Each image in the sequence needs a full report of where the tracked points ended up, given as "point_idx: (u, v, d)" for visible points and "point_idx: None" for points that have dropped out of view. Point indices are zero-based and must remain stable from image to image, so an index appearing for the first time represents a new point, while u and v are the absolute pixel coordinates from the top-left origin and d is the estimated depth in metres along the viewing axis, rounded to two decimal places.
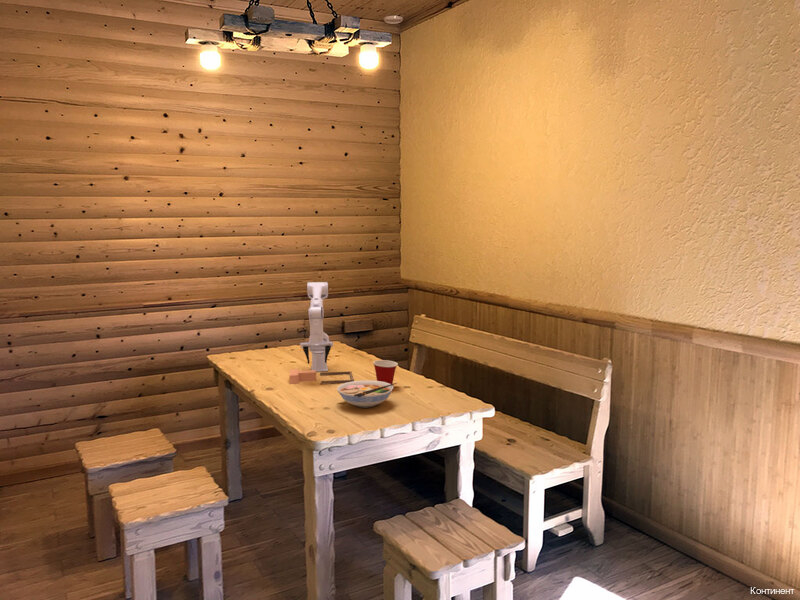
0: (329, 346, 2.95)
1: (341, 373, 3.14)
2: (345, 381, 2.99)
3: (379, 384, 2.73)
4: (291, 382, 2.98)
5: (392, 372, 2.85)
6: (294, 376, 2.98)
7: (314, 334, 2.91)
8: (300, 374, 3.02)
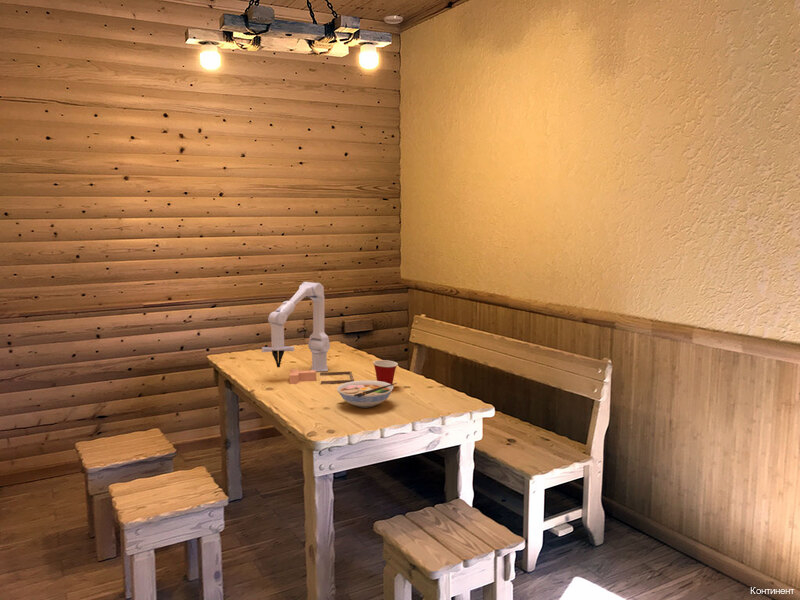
0: None
1: (341, 373, 3.14)
2: (345, 381, 2.99)
3: (379, 384, 2.73)
4: (291, 382, 2.98)
5: (392, 372, 2.85)
6: (294, 376, 2.98)
7: (275, 339, 2.97)
8: (300, 374, 3.02)
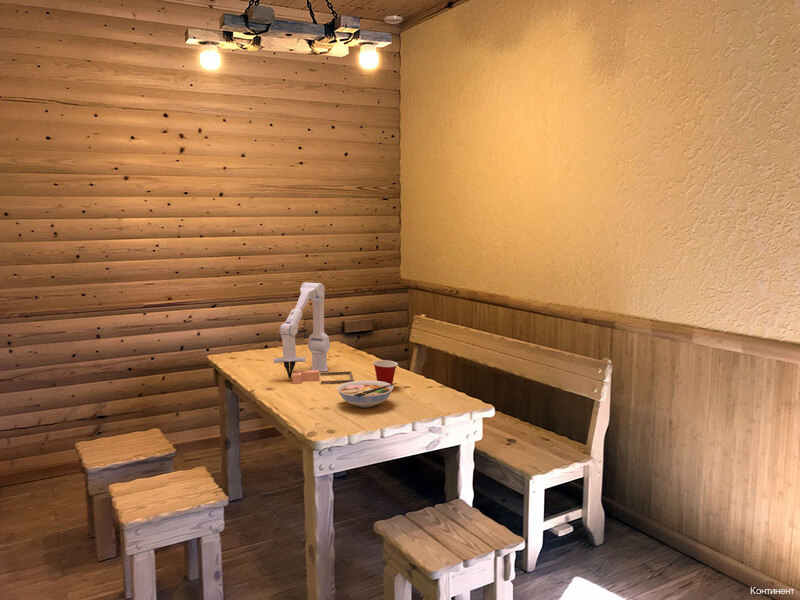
0: (301, 361, 3.02)
1: (341, 373, 3.14)
2: (345, 381, 2.99)
3: (379, 384, 2.73)
4: (294, 382, 2.98)
5: (392, 372, 2.85)
6: (297, 376, 2.98)
7: (286, 350, 2.99)
8: (303, 374, 3.02)
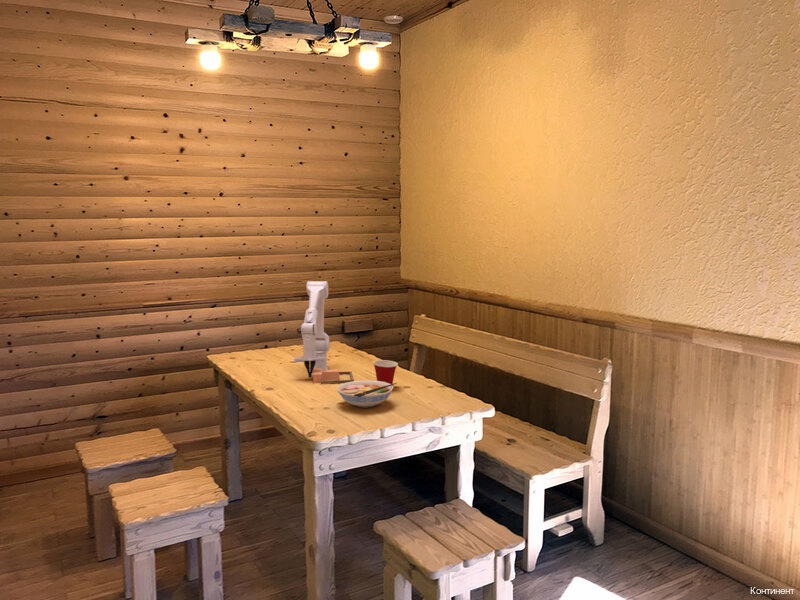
0: (322, 361, 3.04)
1: (341, 373, 3.14)
2: (345, 381, 2.99)
3: (379, 384, 2.73)
4: (315, 381, 2.99)
5: (392, 372, 2.85)
6: (318, 375, 2.99)
7: (307, 349, 3.00)
8: (323, 373, 3.03)
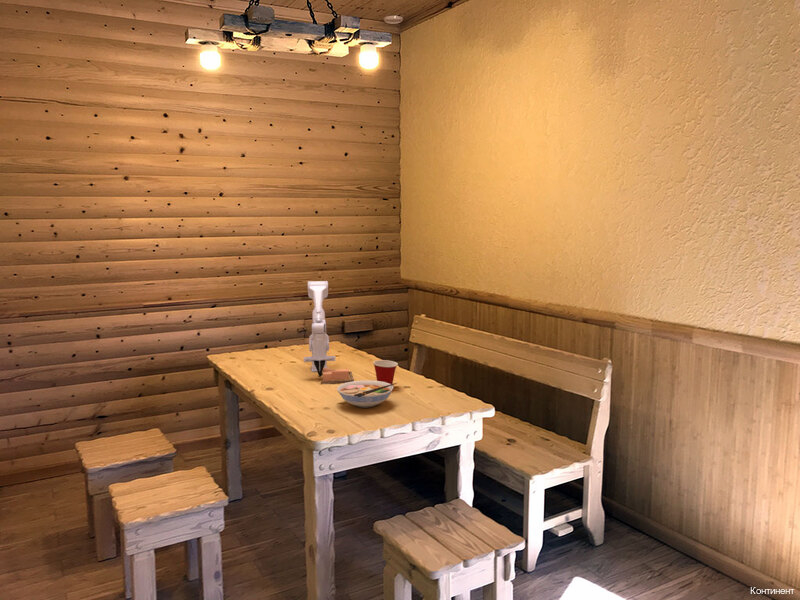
0: (331, 360, 3.04)
1: None
2: (345, 381, 2.99)
3: (379, 384, 2.73)
4: None
5: (392, 372, 2.85)
6: (328, 375, 3.00)
7: (317, 349, 3.01)
8: (333, 373, 3.04)
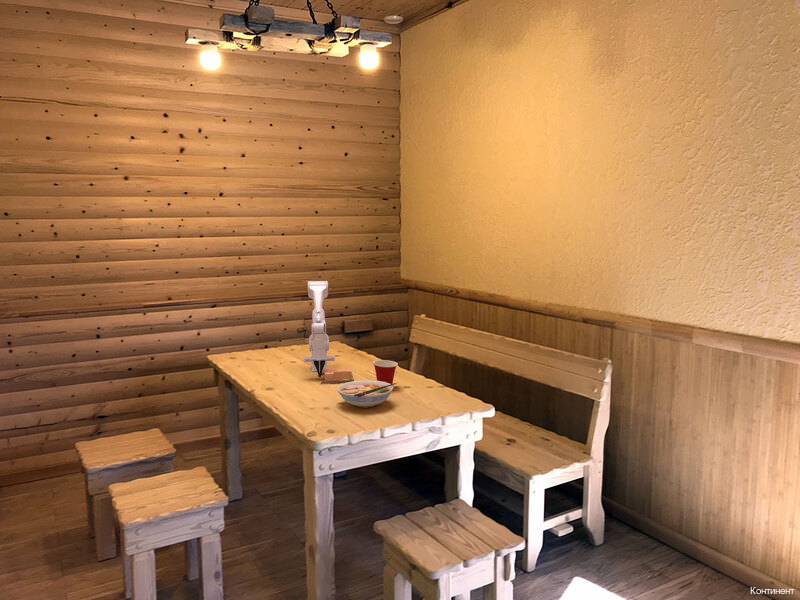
0: (331, 360, 3.04)
1: None
2: (345, 381, 2.99)
3: (379, 384, 2.73)
4: None
5: (392, 372, 2.85)
6: (329, 375, 3.00)
7: (317, 349, 3.01)
8: (335, 373, 3.04)
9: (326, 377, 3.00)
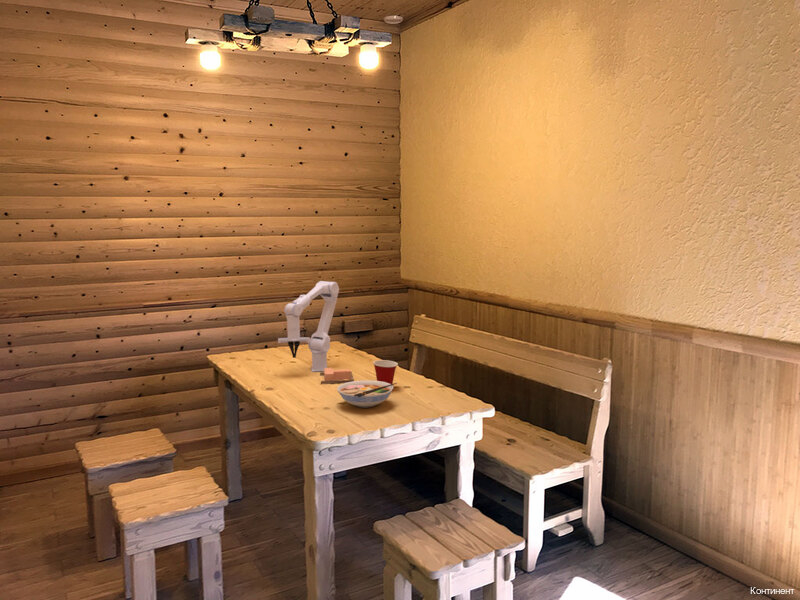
0: (306, 341, 3.08)
1: None
2: (345, 381, 2.99)
3: (379, 384, 2.73)
4: None
5: (392, 372, 2.85)
6: (329, 375, 3.00)
7: (291, 330, 3.05)
8: (335, 373, 3.04)
9: (326, 377, 3.00)
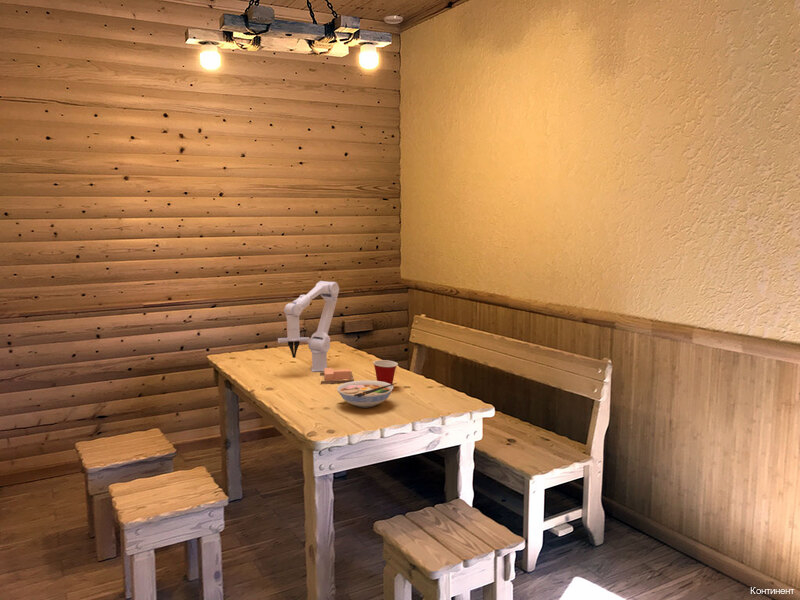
0: (305, 341, 3.08)
1: None
2: (345, 381, 2.99)
3: (379, 384, 2.73)
4: None
5: (392, 372, 2.85)
6: (329, 375, 3.00)
7: (291, 330, 3.05)
8: (335, 373, 3.04)
9: (326, 377, 3.00)
